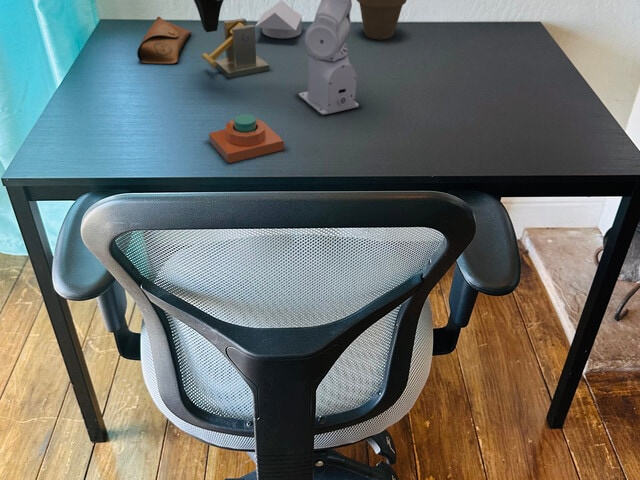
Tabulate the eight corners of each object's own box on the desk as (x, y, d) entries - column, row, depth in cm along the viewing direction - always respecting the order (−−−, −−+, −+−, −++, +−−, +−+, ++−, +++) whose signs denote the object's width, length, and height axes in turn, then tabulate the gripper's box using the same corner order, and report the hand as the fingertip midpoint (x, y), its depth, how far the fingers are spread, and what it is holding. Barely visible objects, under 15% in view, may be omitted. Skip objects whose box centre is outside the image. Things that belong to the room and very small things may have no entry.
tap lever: (215, 70, 130) (208, 61, 128) (205, 61, 133) (199, 52, 131) (253, 37, 130) (247, 27, 128) (243, 29, 133) (236, 19, 131)
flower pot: (345, 29, 154) (347, -18, 147) (388, 24, 157) (392, -22, 150) (367, 46, 146) (370, -2, 139) (411, 40, 150) (417, -7, 143)
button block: (283, 149, 110) (283, 130, 108) (228, 163, 107) (227, 143, 104) (262, 130, 116) (262, 111, 113) (209, 142, 112) (207, 122, 109)
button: (260, 131, 109) (259, 121, 107) (239, 135, 107) (239, 125, 106) (250, 122, 111) (250, 112, 110) (231, 126, 109) (230, 116, 108)
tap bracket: (228, 78, 131) (225, 32, 125) (214, 65, 136) (210, 21, 130) (269, 70, 135) (267, 25, 129) (254, 58, 139) (252, 14, 133)
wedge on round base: (295, 46, 145) (304, 25, 155) (295, 14, 141) (304, -5, 150) (255, 43, 146) (266, 23, 155) (254, 11, 141) (265, -8, 151)
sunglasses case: (179, 62, 135) (158, 32, 131) (152, 78, 138) (131, 50, 134) (192, 31, 149) (174, 3, 145) (168, 46, 151) (149, 20, 147)
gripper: (166, -60, 116) (176, 21, 125) (196, -39, 107) (204, 47, 116) (204, -64, 118) (211, 16, 128) (236, -44, 109) (241, 40, 118)
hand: (210, 30), depth 122 cm, fingers closed
